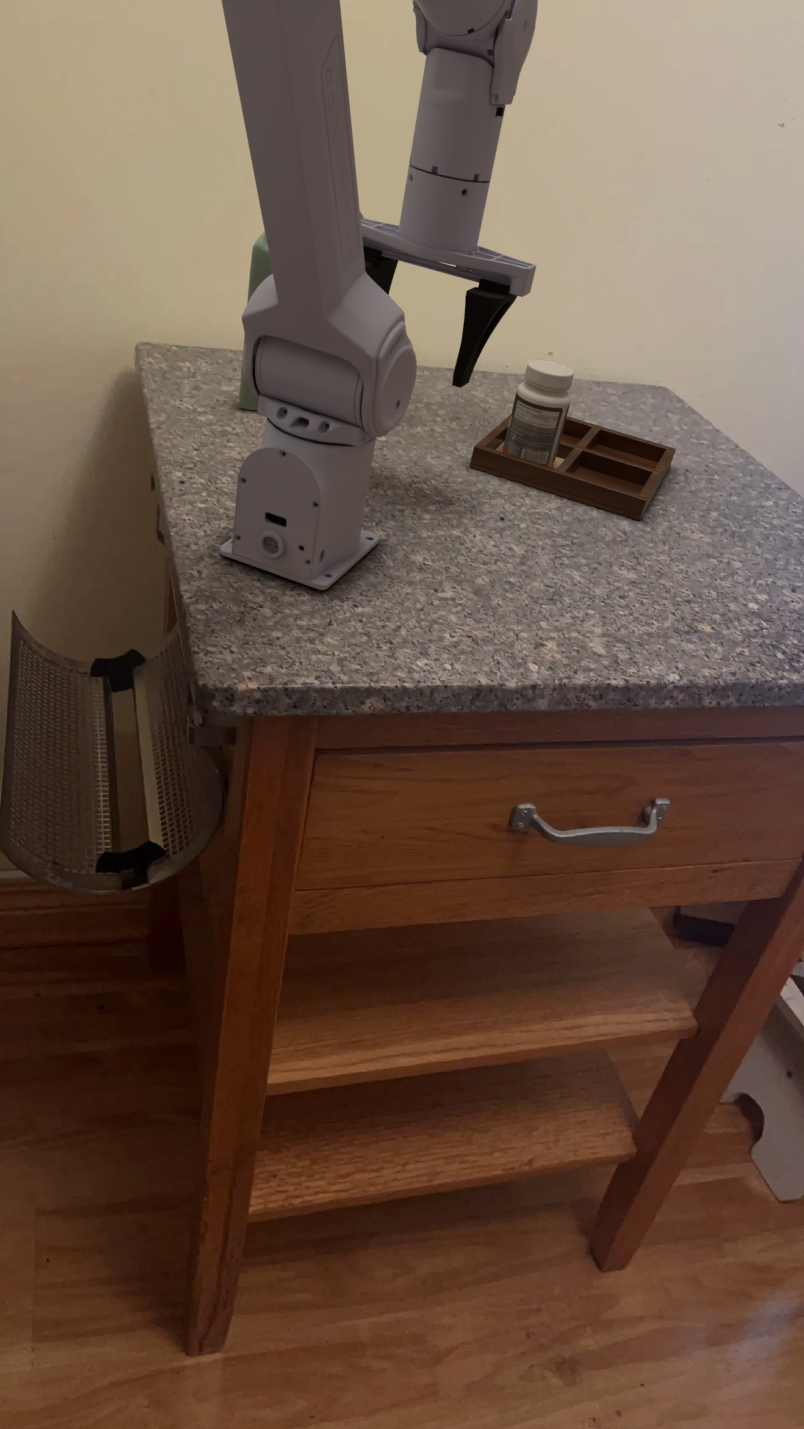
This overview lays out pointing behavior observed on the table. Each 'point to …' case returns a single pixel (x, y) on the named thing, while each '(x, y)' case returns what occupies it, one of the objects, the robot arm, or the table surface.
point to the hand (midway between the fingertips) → (414, 369)
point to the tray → (585, 466)
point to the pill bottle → (539, 412)
